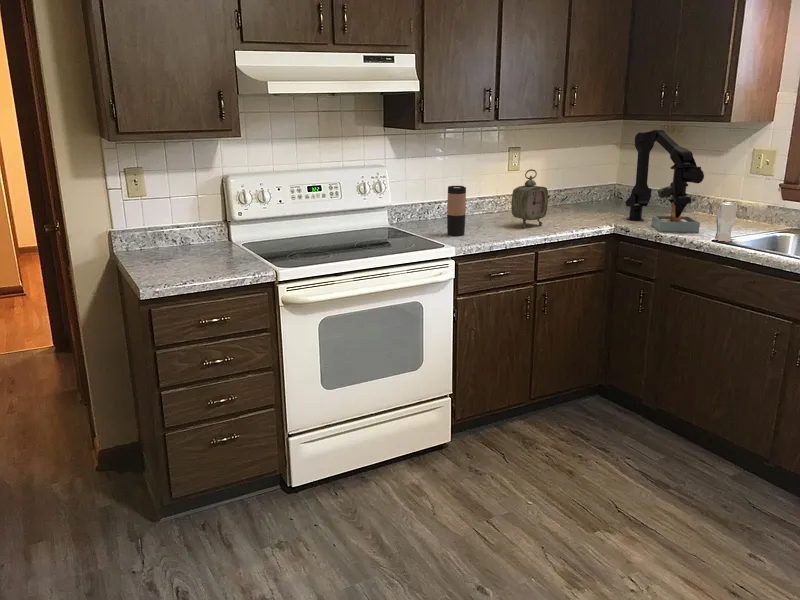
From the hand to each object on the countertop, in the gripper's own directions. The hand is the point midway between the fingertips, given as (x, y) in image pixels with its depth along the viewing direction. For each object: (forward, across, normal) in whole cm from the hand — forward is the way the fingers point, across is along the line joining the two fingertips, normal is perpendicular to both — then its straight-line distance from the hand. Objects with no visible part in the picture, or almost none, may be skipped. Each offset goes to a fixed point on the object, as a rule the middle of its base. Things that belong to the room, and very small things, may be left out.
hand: (675, 217), depth 296 cm
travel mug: (+6, +22, -94) cm, 97 cm away
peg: (+2, 0, 0) cm, 2 cm away
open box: (+5, 0, 0) cm, 5 cm away
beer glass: (+6, +23, +13) cm, 27 cm away
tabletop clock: (+6, 0, -63) cm, 63 cm away
